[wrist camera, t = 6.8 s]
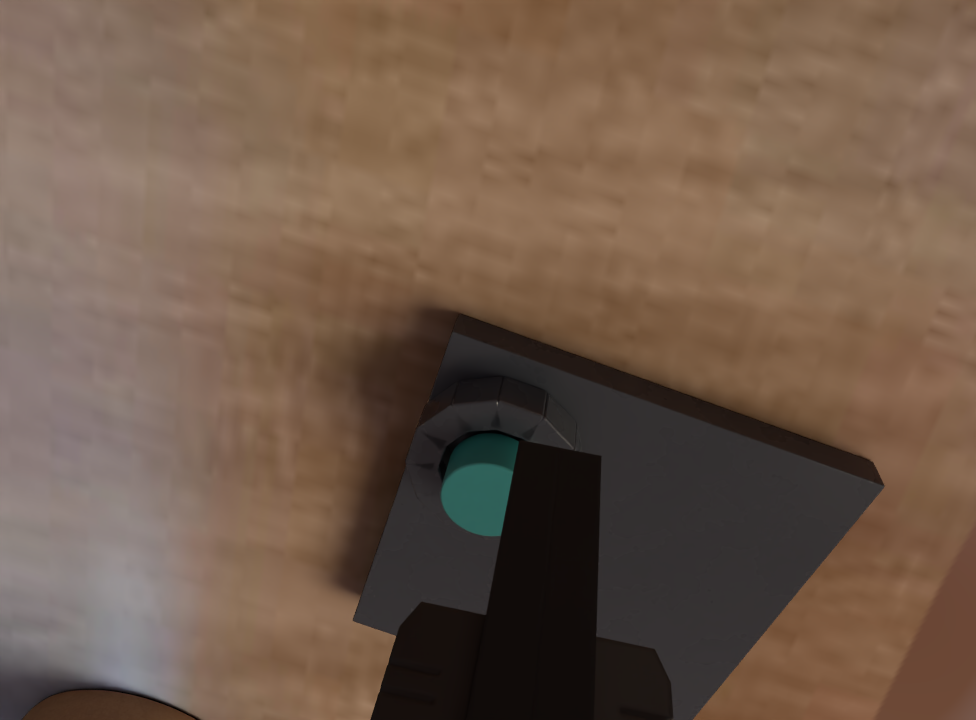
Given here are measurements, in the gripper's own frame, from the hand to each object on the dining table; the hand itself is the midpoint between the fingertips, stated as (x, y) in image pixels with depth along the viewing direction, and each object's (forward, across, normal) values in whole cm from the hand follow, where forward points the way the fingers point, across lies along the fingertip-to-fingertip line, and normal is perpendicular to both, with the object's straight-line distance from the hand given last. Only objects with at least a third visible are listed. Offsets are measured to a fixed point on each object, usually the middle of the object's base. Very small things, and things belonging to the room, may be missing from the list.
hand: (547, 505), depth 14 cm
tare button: (+10, -1, -8) cm, 13 cm away
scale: (+13, +3, -12) cm, 18 cm away
